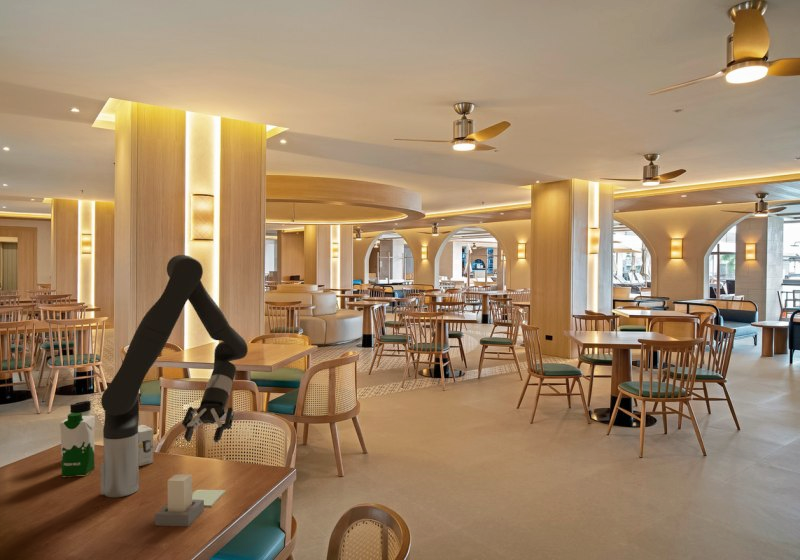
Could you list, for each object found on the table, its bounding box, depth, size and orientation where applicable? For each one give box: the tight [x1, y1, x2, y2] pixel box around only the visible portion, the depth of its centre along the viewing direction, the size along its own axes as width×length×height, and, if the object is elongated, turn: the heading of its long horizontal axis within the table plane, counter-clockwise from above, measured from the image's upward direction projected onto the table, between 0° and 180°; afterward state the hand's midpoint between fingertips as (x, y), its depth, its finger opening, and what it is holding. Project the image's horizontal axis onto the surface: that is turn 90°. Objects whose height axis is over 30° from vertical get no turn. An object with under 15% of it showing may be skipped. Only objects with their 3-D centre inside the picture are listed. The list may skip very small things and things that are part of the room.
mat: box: [192, 489, 227, 508], centre depth 153 cm, size 9×10×1 cm
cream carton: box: [167, 473, 193, 512], centre depth 141 cm, size 4×4×11 cm
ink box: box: [138, 424, 154, 467], centre depth 182 cm, size 9×5×12 cm, turn 50°
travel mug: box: [69, 400, 92, 416], centre depth 187 cm, size 6×7×20 cm
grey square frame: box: [154, 500, 205, 527], centre depth 141 cm, size 9×9×3 cm
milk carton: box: [59, 413, 96, 477], centre depth 172 cm, size 9×9×20 cm
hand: (201, 440), depth 153 cm, fingers open, 8 cm apart
